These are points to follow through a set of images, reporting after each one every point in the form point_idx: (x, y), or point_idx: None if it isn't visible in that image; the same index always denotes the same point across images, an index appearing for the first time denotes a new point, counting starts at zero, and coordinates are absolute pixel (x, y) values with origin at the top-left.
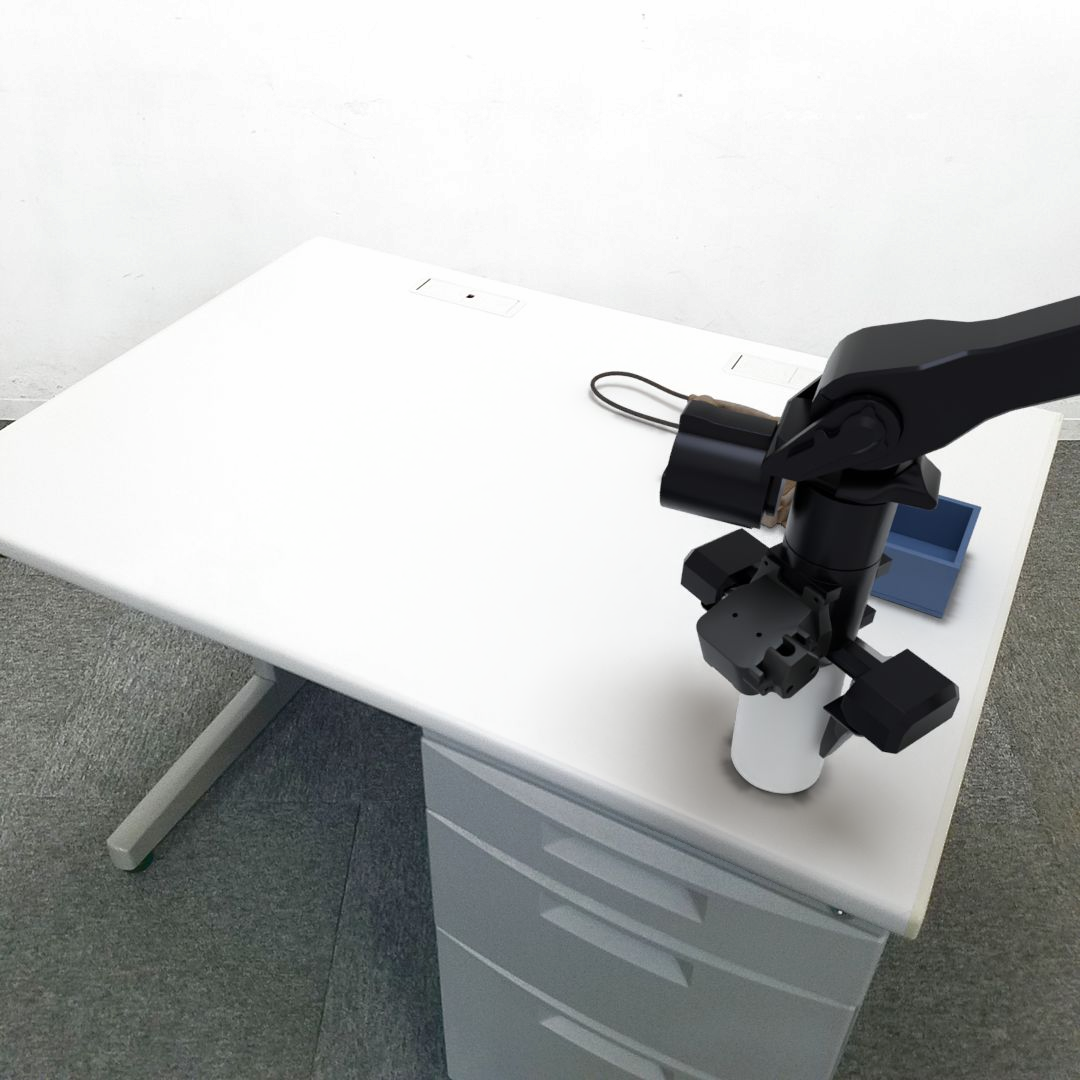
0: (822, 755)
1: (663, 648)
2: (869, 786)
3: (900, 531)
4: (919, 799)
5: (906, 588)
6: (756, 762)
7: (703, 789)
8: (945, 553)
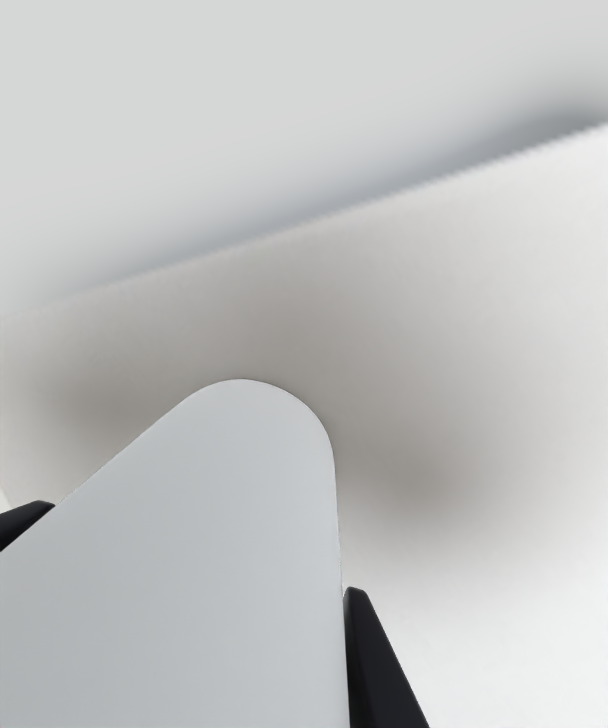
0: (26, 506)
1: (592, 565)
2: None
3: None
4: None
5: None
6: (215, 403)
7: (313, 309)
8: None
